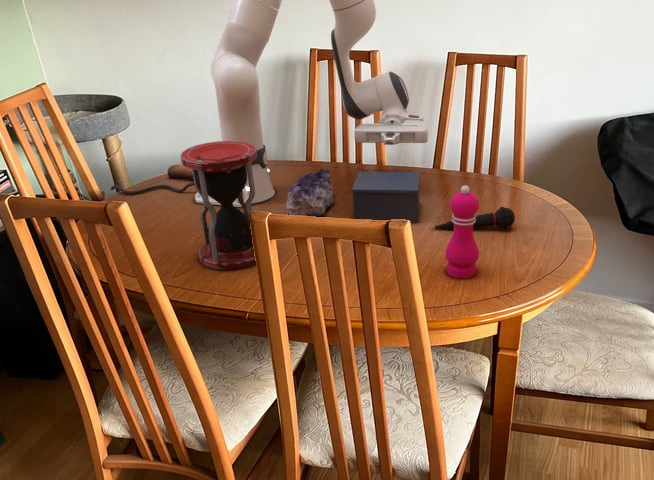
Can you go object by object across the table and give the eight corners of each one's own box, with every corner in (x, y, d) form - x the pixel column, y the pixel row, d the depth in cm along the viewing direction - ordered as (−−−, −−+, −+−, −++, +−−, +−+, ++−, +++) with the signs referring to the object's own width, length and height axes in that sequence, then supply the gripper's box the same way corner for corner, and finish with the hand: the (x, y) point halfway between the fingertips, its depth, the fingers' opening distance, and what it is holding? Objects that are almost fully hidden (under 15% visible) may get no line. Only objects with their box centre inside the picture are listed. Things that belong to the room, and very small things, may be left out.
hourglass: (185, 264, 142) (164, 158, 130) (224, 236, 155) (208, 137, 143) (246, 275, 137) (230, 166, 125) (281, 244, 150) (270, 143, 138)
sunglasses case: (231, 174, 194) (222, 160, 188) (222, 191, 191) (212, 177, 185) (184, 168, 200) (174, 154, 194) (174, 185, 197) (164, 171, 191)
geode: (302, 192, 180) (304, 159, 176) (340, 200, 179) (343, 166, 174) (278, 217, 163) (280, 181, 158) (320, 225, 162) (323, 189, 157)
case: (417, 222, 160) (417, 192, 156) (354, 221, 162) (352, 191, 158) (419, 203, 171) (419, 175, 167) (360, 203, 173) (358, 174, 168)
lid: (417, 193, 155) (417, 190, 155) (352, 192, 157) (352, 189, 156) (419, 175, 167) (419, 172, 167) (358, 174, 168) (358, 171, 168)
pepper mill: (442, 265, 139) (444, 180, 129) (473, 263, 140) (479, 178, 130) (447, 280, 133) (451, 192, 123) (480, 278, 133) (486, 191, 123)
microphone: (436, 242, 156) (516, 232, 155) (435, 226, 152) (516, 215, 150) (434, 228, 160) (512, 218, 158) (433, 211, 156) (512, 200, 154)
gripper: (356, 116, 176) (349, 129, 164) (428, 116, 174) (427, 130, 162) (357, 138, 179) (350, 153, 167) (428, 138, 177) (426, 153, 165)
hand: (389, 141), depth 164 cm, fingers closed
